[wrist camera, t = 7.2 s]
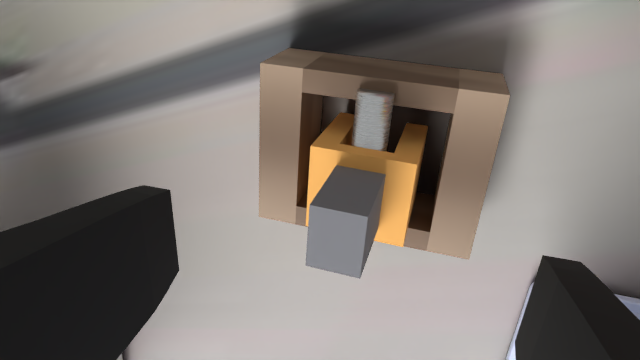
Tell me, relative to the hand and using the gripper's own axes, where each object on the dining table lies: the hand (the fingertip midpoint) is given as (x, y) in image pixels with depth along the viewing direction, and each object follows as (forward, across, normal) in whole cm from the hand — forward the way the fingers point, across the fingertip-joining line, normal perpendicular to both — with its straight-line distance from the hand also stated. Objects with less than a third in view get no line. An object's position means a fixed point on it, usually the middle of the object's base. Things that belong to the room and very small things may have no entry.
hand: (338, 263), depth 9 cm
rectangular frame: (+10, 0, +1) cm, 10 cm away
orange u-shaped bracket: (+10, 0, +2) cm, 10 cm away
